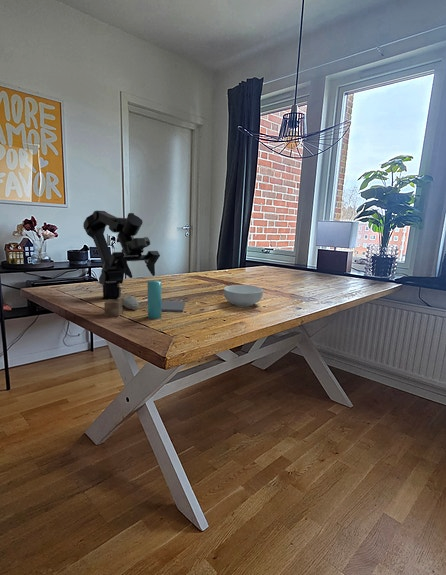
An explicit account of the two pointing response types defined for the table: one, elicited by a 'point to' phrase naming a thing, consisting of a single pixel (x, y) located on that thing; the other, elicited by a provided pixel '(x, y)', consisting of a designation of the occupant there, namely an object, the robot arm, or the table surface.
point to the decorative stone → (130, 302)
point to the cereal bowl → (243, 294)
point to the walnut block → (113, 307)
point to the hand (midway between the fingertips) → (143, 276)
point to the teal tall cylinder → (154, 299)
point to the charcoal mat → (172, 306)
